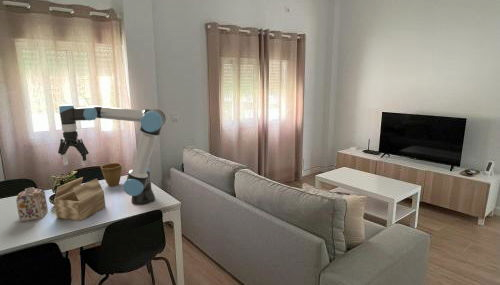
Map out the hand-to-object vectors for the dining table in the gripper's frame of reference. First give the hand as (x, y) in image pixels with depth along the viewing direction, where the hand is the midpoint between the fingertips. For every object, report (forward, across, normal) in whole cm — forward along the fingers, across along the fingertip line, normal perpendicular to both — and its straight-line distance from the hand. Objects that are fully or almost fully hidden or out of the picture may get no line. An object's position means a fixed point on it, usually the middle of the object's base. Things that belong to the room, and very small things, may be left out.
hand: (75, 165), depth 185 cm
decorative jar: (+30, +24, +12) cm, 41 cm away
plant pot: (+31, +14, -46) cm, 57 cm away
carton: (+30, -1, +1) cm, 30 cm away
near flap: (+15, -8, +1) cm, 17 cm away
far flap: (+14, +6, +1) cm, 16 cm away
